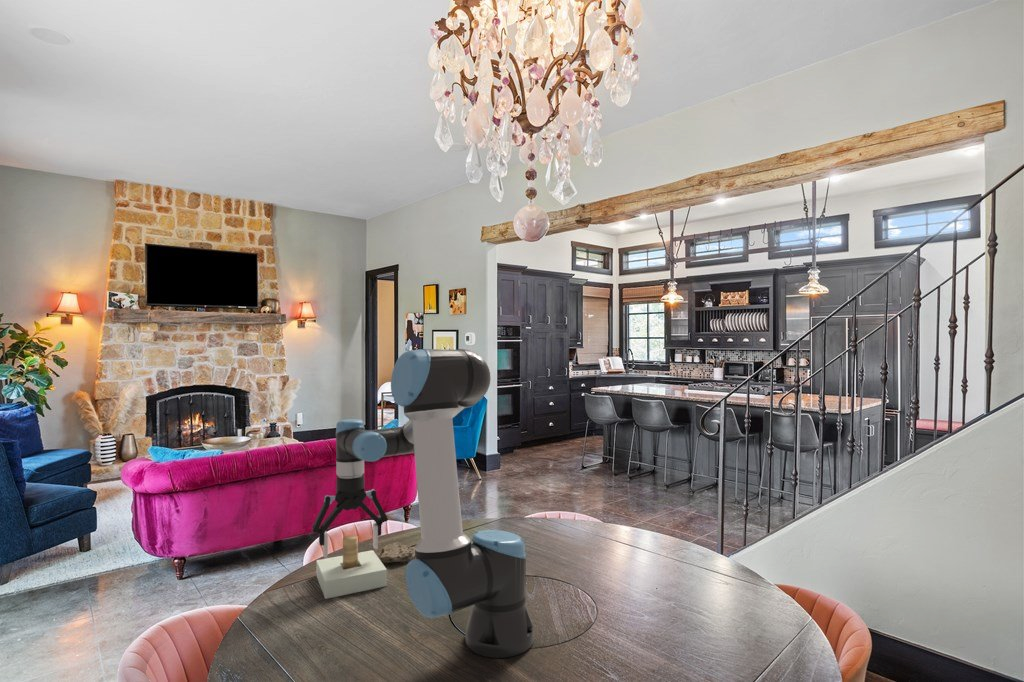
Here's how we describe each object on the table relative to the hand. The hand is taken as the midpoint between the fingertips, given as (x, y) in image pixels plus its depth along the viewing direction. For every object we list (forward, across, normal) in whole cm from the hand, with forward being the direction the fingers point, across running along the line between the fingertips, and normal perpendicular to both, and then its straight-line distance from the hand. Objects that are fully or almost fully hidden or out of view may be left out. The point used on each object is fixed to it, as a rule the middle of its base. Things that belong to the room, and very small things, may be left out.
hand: (350, 552), depth 151 cm
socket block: (+8, 0, 0) cm, 8 cm away
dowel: (+8, 0, 0) cm, 8 cm away
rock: (+8, -16, -9) cm, 20 cm away
